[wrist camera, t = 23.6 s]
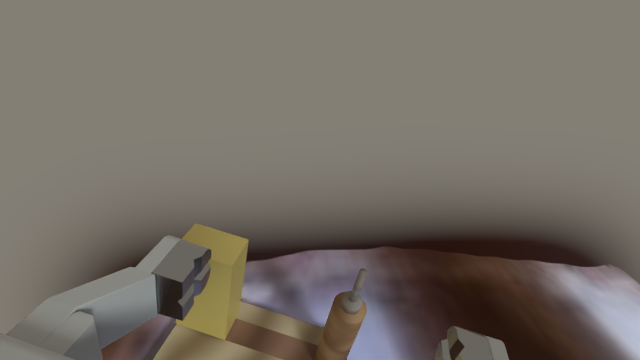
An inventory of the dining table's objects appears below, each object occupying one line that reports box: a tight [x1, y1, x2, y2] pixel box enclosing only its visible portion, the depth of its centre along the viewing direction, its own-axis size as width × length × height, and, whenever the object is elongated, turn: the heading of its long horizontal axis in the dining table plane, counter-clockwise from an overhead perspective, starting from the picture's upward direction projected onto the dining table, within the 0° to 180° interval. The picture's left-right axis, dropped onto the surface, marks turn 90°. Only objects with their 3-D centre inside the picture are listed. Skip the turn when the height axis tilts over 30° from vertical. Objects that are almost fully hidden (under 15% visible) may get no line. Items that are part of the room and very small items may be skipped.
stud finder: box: [176, 223, 248, 340], centre depth 38 cm, size 4×6×12 cm
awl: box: [314, 269, 367, 360], centre depth 36 cm, size 3×3×15 cm
